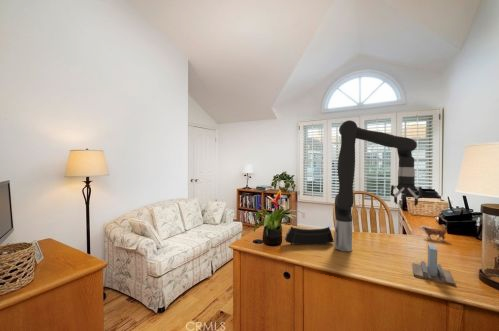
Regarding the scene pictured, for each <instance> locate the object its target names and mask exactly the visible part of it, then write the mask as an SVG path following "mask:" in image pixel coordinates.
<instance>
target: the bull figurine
mask: <svg viewBox="0 0 499 331" xmlns="http://www.w3.org/2000/svg"><path fill="white" fill-rule="evenodd" d="M419 229H420V230H422V231H423V232H424V234H426V235H427V237H426V240H429V239H431V236H432V235H433V236H435V237H437V236H438V237H437V238H436V240H440V239H441V241H442V242H444V241H445V238H446V237H445V235H446V233H447V232H446V229H441V228H433V227H429V226H425V225H421V226H420V227H419Z"/></svg>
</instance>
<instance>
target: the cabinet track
mask: <svg viewBox="0 0 499 331" xmlns="http://www.w3.org/2000/svg"><path fill="white" fill-rule="evenodd" d="M412 272H413V277H414V278H420V279H424V280H428V281H432V282H436V283H441V284H444V285H449V286H453V287H456V285H457V284H456V281H455V279H454V277H453V274H452V272H451V271H450V270H448V269H443V267H442V265H441V264H439V263H437V277H435V276H431V275H429V271H428V265H427V263H426V261H425V260H420V263H416V262H415V263H414V262H412Z"/></svg>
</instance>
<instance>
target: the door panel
mask: <svg viewBox="0 0 499 331" xmlns="http://www.w3.org/2000/svg"><path fill="white" fill-rule="evenodd" d="M437 264H438V248H437V246H436V244H435V243H429V242H428V243H427V266H428V271H429V275H431V276H435V277H437Z"/></svg>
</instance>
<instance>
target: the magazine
mask: <svg viewBox="0 0 499 331" xmlns="http://www.w3.org/2000/svg"><path fill="white" fill-rule="evenodd" d="M332 233H333V232H332V230H331V228H330V226H327V227H324V228H315V229H314V228H313V229H312V228H311V229H307V228H306V229H304V228H297V227H293V226H290V228H289V229H288V231H287V232H286V234H285V237H284V241H285V242H286V243H290V245H293V244H294V245H302V246H303V245H304V246H310V245H311V246H312V245H314V246H315V245H317V246H319V245H324V244H330V243H334V237H333V234H332Z"/></svg>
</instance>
